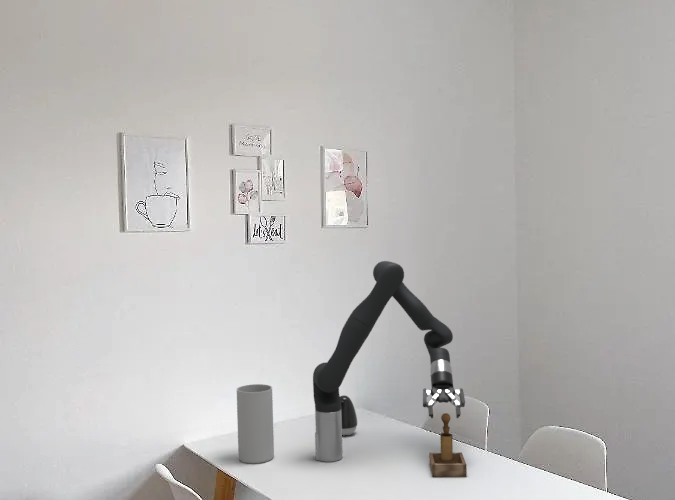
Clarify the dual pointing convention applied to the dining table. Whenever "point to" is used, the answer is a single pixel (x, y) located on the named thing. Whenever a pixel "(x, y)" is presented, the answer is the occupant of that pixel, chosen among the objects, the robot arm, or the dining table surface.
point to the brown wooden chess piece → (446, 443)
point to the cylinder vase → (255, 423)
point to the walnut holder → (448, 466)
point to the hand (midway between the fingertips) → (445, 417)
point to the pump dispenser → (348, 416)
